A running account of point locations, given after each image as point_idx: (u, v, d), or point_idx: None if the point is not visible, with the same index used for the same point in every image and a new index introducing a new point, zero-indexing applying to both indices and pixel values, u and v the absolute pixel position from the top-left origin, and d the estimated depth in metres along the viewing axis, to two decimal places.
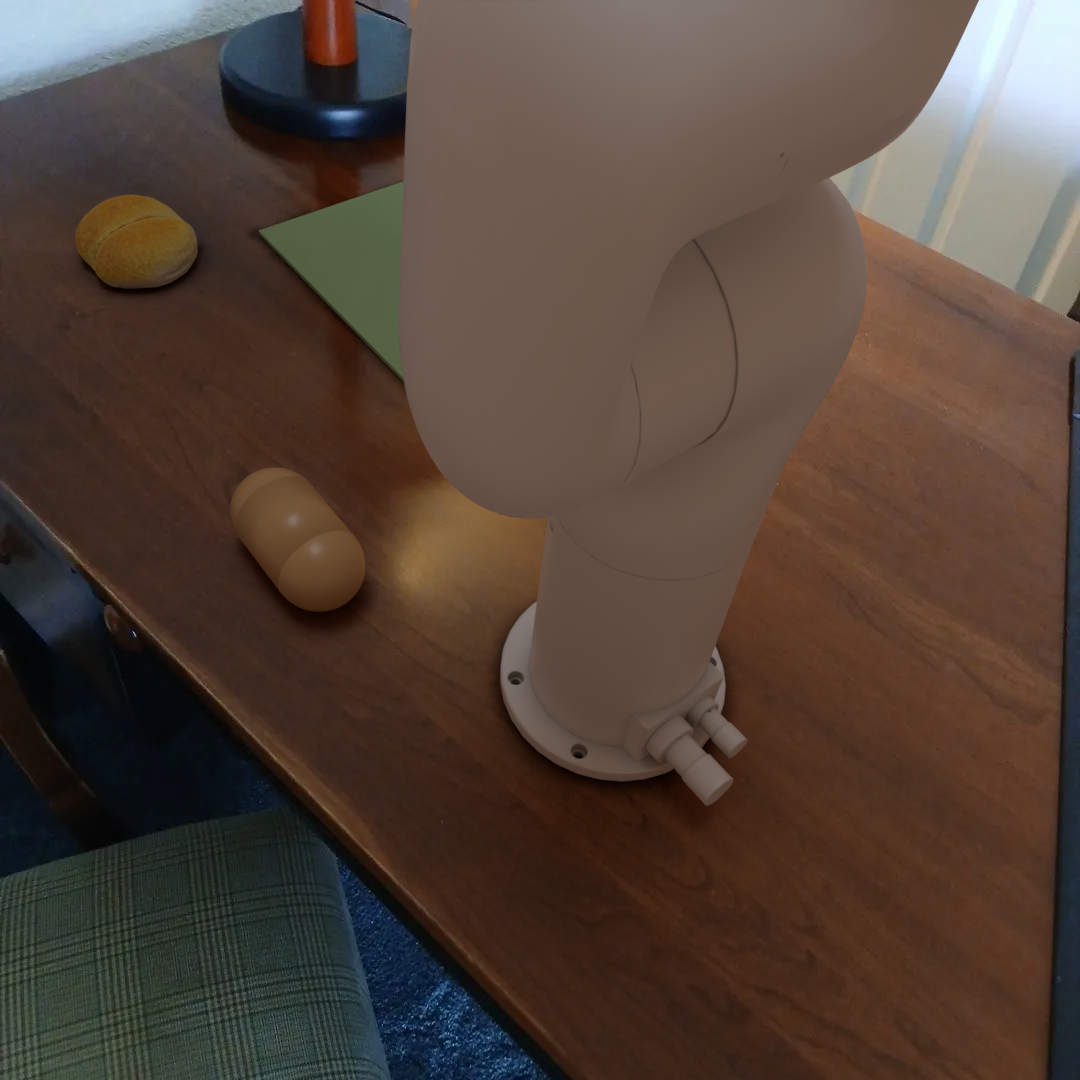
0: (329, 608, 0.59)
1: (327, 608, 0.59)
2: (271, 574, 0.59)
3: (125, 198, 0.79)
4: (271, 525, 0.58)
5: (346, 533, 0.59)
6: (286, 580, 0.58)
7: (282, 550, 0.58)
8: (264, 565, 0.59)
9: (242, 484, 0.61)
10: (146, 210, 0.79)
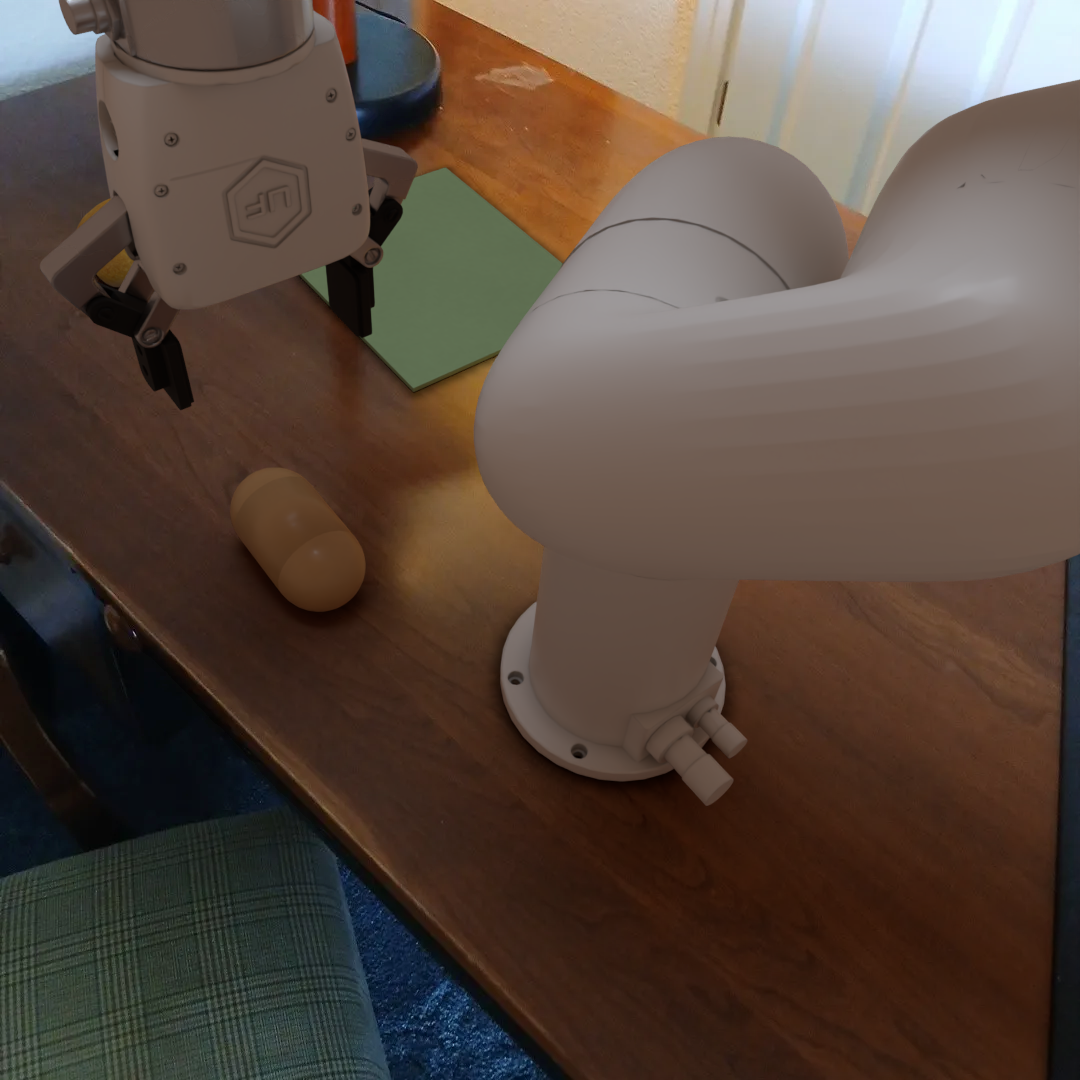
0: (329, 608, 0.59)
1: (327, 608, 0.59)
2: (271, 574, 0.59)
3: None
4: (271, 525, 0.58)
5: (346, 533, 0.59)
6: (286, 580, 0.58)
7: (282, 550, 0.58)
8: (264, 565, 0.59)
9: (242, 484, 0.61)
10: None
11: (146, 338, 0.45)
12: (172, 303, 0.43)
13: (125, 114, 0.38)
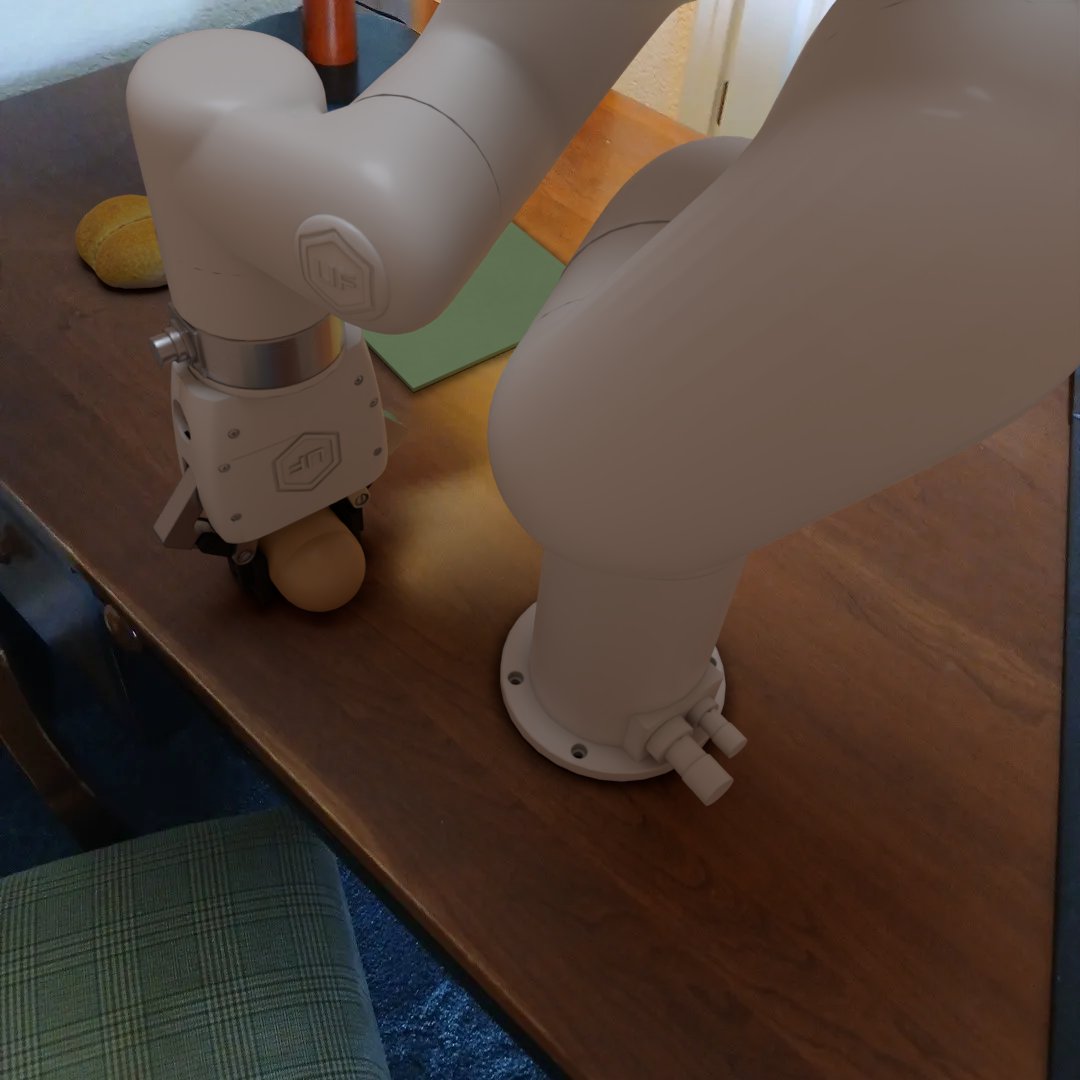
0: (329, 608, 0.59)
1: (327, 608, 0.59)
2: (271, 574, 0.59)
3: (125, 198, 0.79)
4: None
5: (346, 533, 0.59)
6: (286, 580, 0.58)
7: (282, 550, 0.58)
8: None
9: None
10: (146, 210, 0.79)
11: (242, 558, 0.57)
12: (229, 541, 0.53)
13: (198, 418, 0.48)
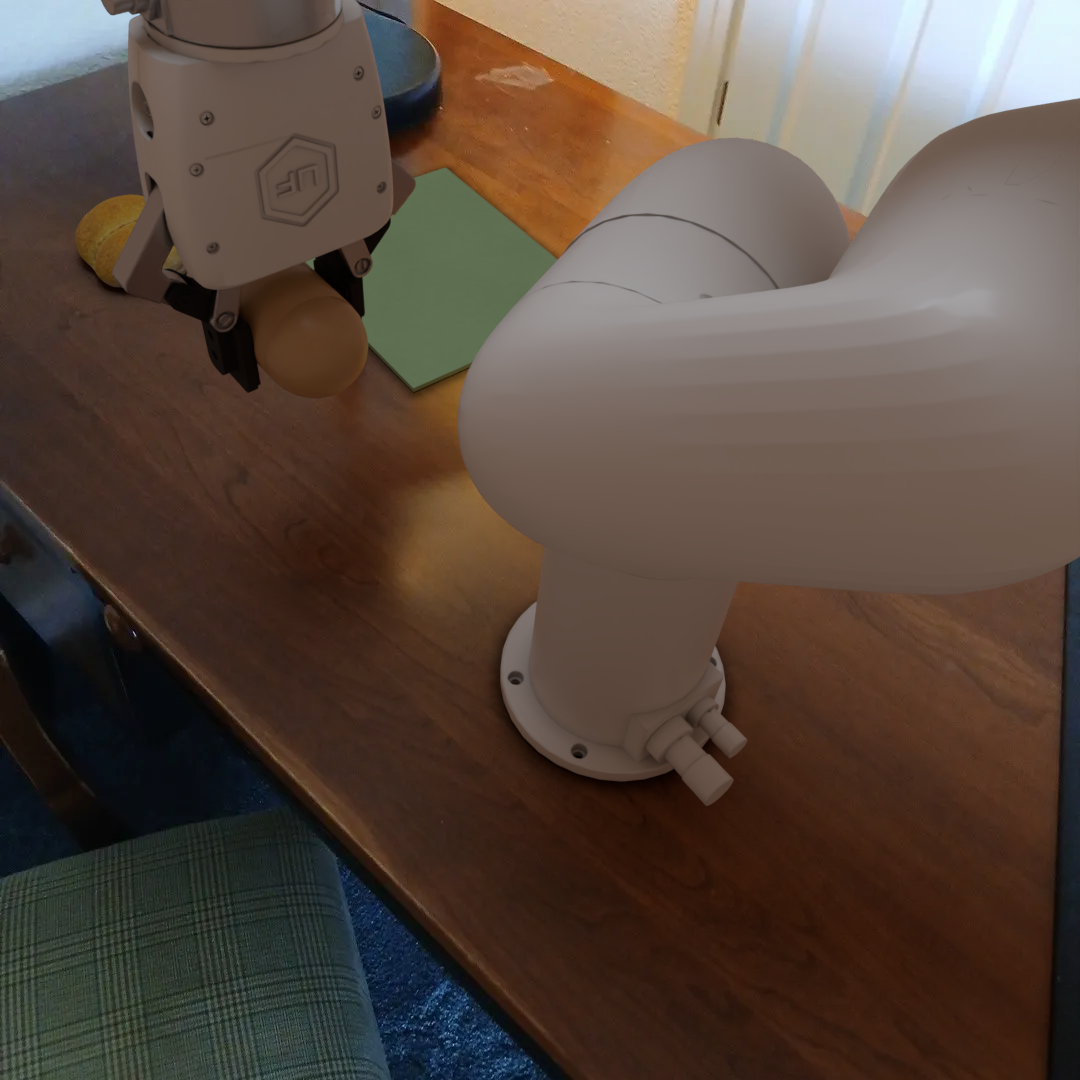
0: (326, 390, 0.50)
1: (324, 389, 0.49)
2: (256, 350, 0.49)
3: (125, 198, 0.79)
4: (255, 291, 0.49)
5: (345, 301, 0.50)
6: (275, 352, 0.48)
7: (269, 316, 0.48)
8: None
9: None
10: None
11: (221, 323, 0.48)
12: (205, 283, 0.44)
13: (162, 94, 0.38)
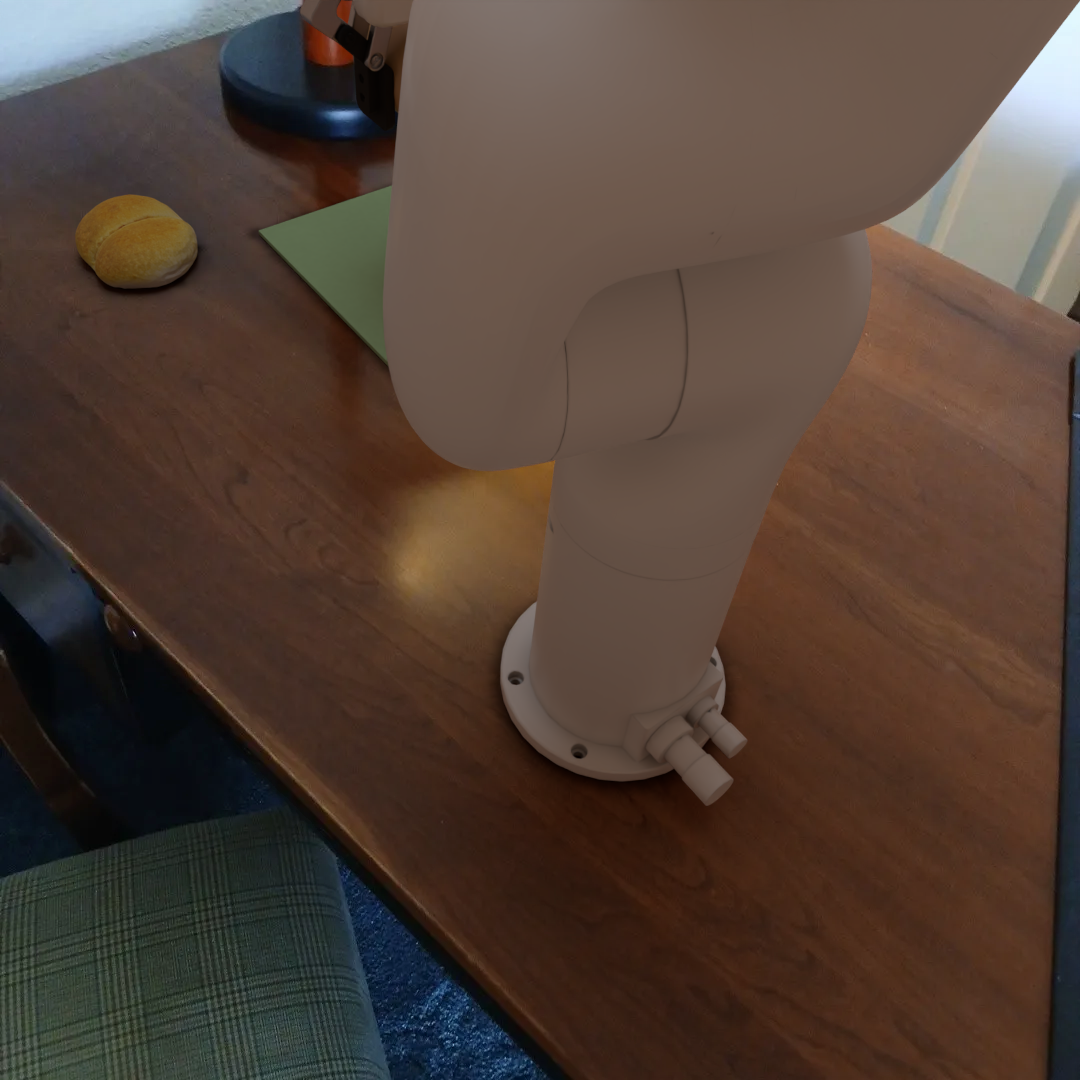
0: None
1: None
2: (396, 90, 0.64)
3: (125, 198, 0.79)
4: (396, 44, 0.64)
5: None
6: None
7: None
8: None
9: None
10: (146, 210, 0.79)
11: (373, 63, 0.63)
12: (370, 18, 0.59)
13: None
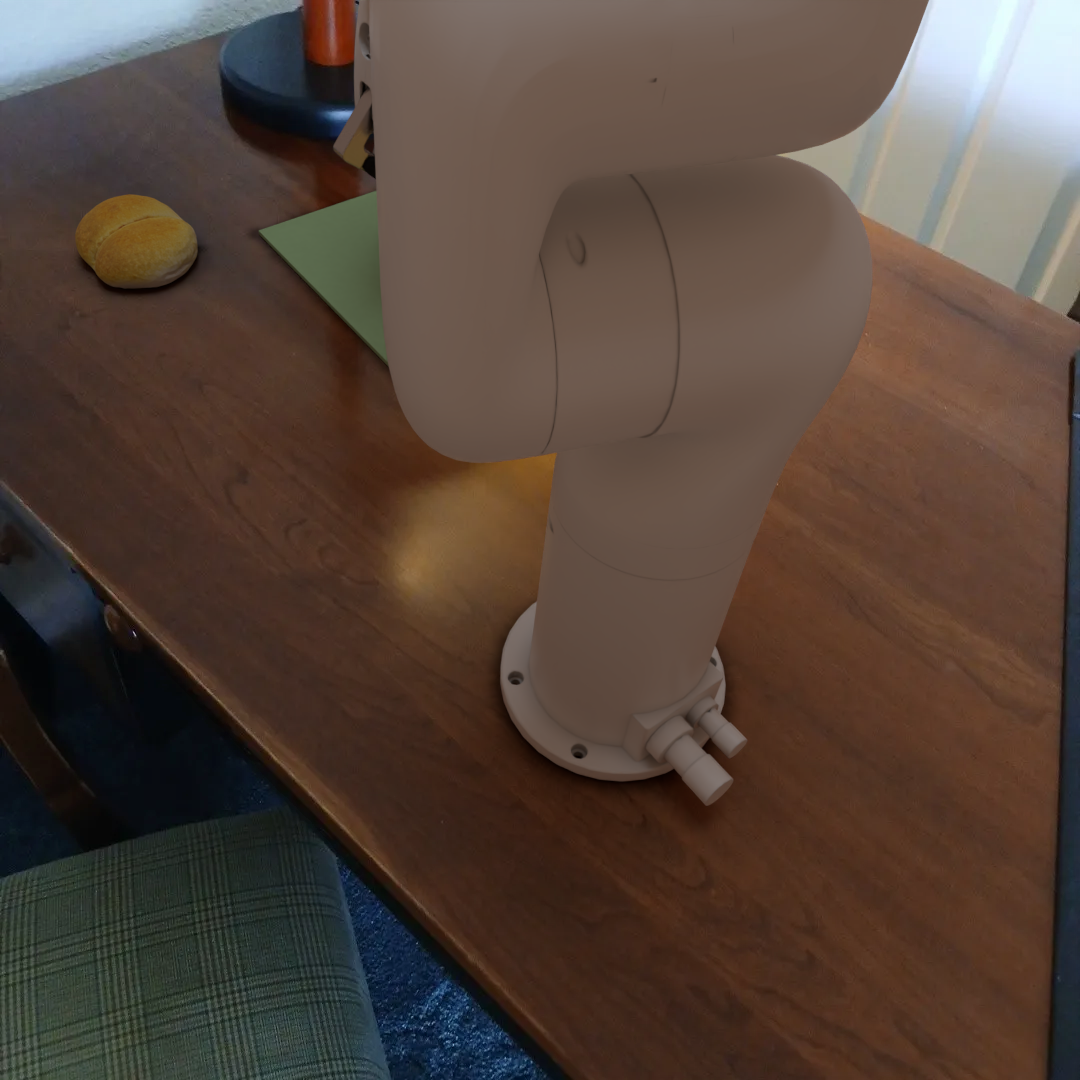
0: None
1: None
2: None
3: (125, 198, 0.79)
4: None
5: None
6: None
7: None
8: None
9: None
10: (146, 210, 0.79)
11: None
12: None
13: None
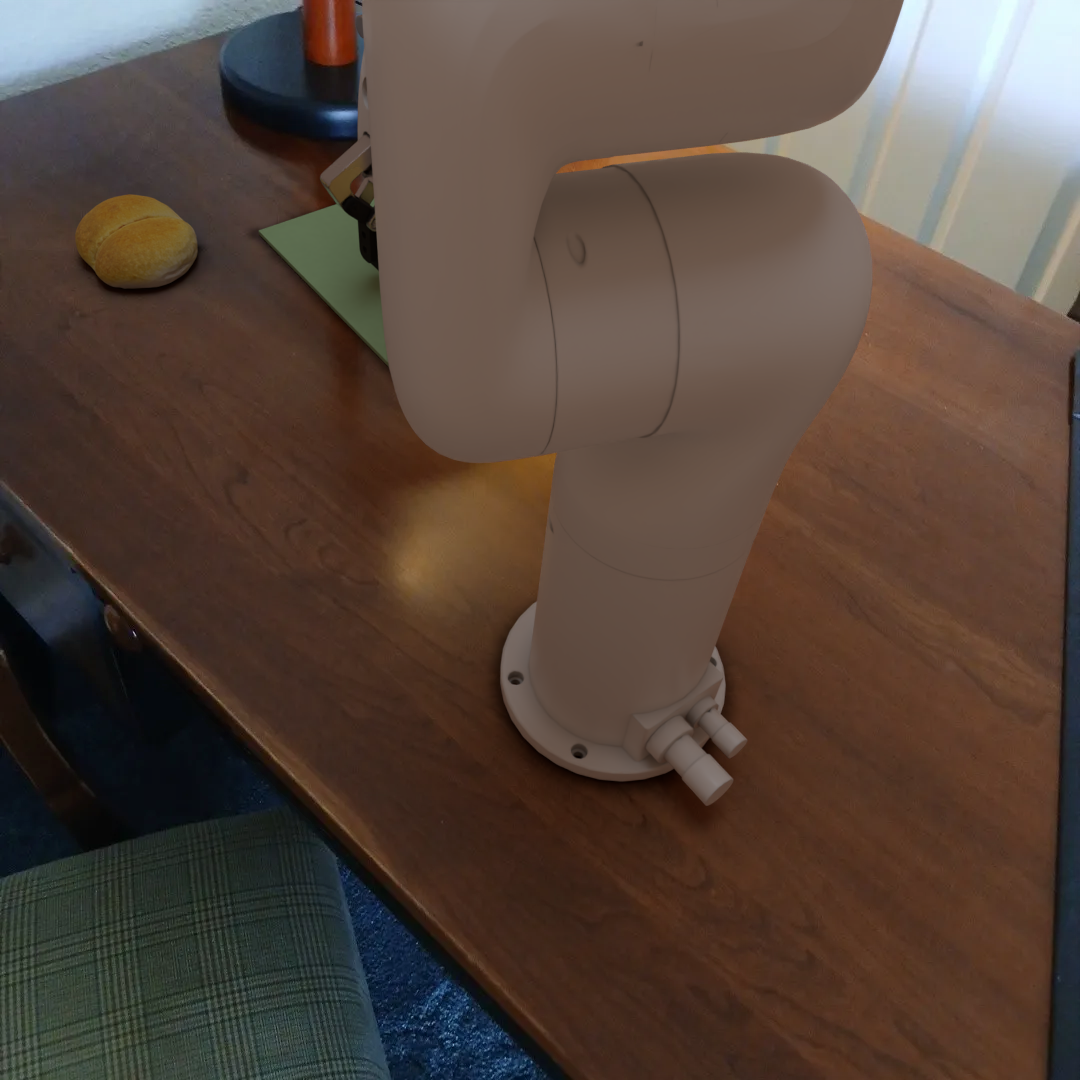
0: None
1: None
2: None
3: (125, 198, 0.79)
4: None
5: None
6: None
7: None
8: None
9: None
10: (146, 210, 0.79)
11: (373, 225, 0.74)
12: None
13: None
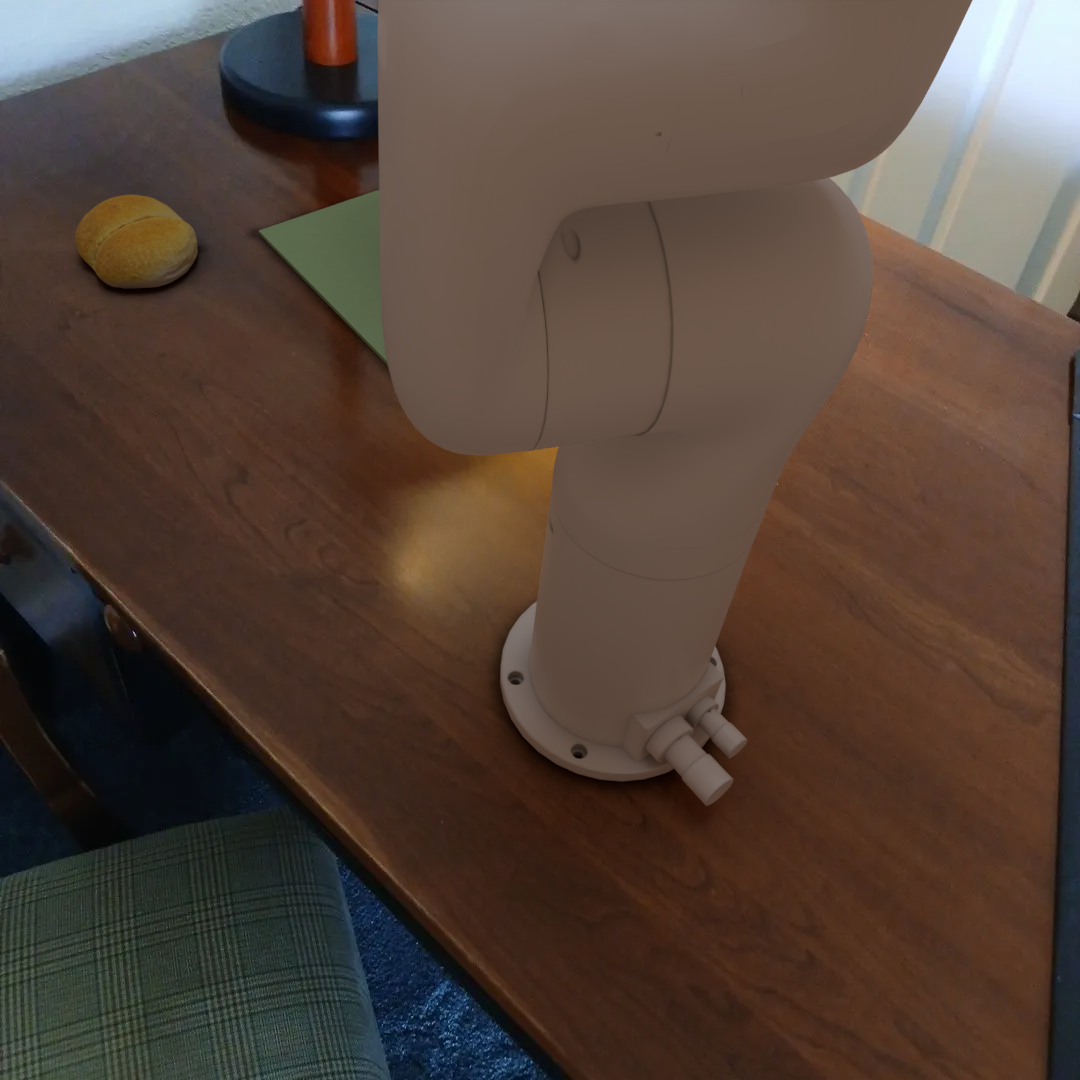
0: None
1: None
2: None
3: (125, 198, 0.79)
4: None
5: None
6: None
7: None
8: None
9: None
10: (146, 210, 0.79)
11: None
12: None
13: None
